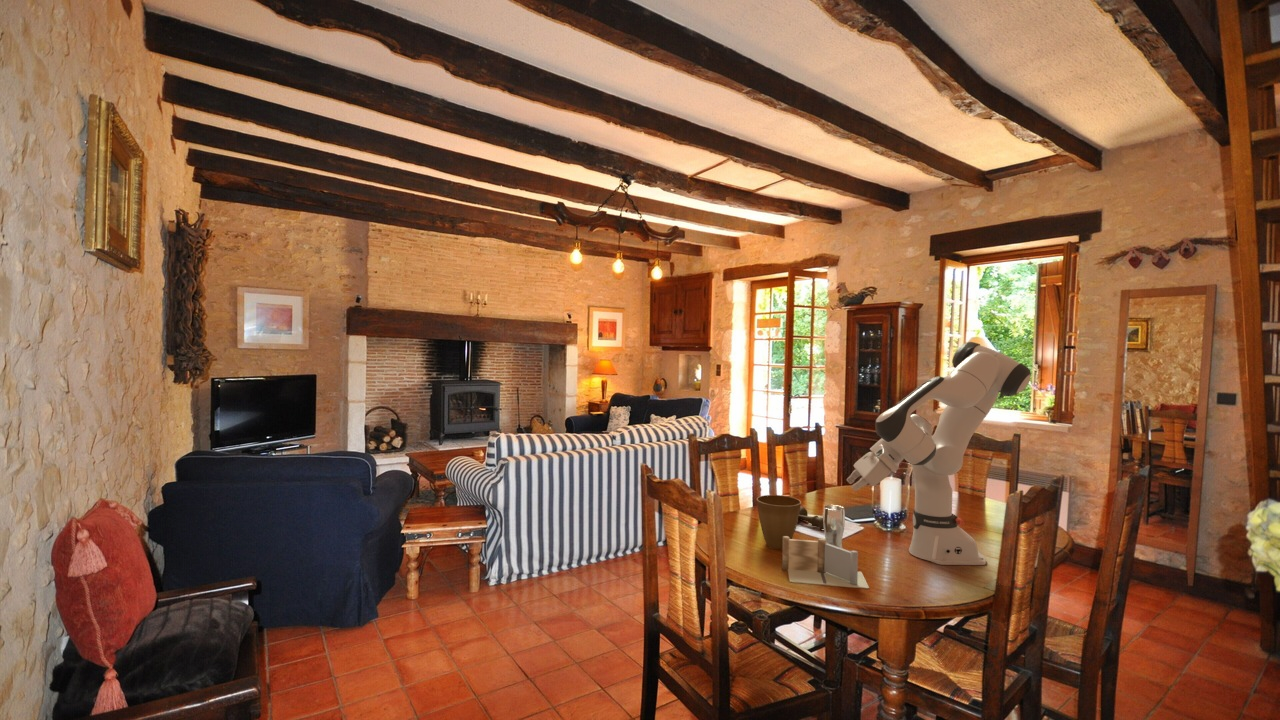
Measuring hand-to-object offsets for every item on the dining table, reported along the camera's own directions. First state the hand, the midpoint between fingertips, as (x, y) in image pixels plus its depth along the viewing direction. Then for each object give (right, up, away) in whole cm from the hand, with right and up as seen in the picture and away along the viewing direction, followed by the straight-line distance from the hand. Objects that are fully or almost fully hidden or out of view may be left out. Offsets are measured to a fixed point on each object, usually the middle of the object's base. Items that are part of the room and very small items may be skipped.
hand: (850, 485), depth 183 cm
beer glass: (-1, -25, +13) cm, 28 cm away
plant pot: (-18, -25, +18) cm, 36 cm away
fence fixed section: (-16, -25, -3) cm, 30 cm away
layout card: (-10, -26, -9) cm, 29 cm away
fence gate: (-7, -25, -10) cm, 28 cm away
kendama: (-3, -25, +43) cm, 50 cm away
